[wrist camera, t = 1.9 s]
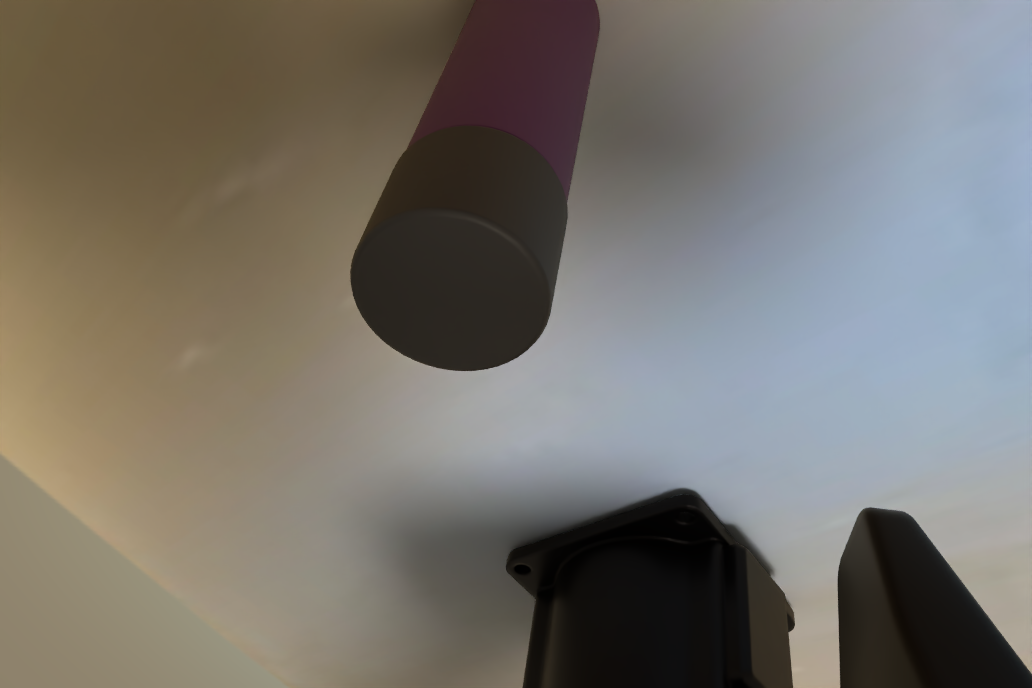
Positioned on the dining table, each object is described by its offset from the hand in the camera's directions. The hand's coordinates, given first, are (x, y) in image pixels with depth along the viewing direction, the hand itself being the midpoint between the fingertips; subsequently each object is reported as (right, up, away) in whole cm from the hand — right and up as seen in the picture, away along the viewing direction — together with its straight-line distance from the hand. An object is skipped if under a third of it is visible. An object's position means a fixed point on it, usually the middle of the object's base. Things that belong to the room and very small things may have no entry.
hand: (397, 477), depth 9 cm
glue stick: (+2, +7, +8) cm, 11 cm away
